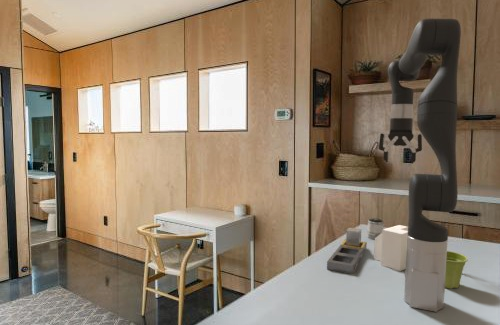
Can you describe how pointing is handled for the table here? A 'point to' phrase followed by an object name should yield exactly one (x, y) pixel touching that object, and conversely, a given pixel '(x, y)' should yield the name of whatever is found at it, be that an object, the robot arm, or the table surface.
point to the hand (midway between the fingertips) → (399, 162)
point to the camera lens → (375, 228)
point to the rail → (346, 258)
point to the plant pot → (454, 269)
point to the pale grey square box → (353, 237)
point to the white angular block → (392, 247)
